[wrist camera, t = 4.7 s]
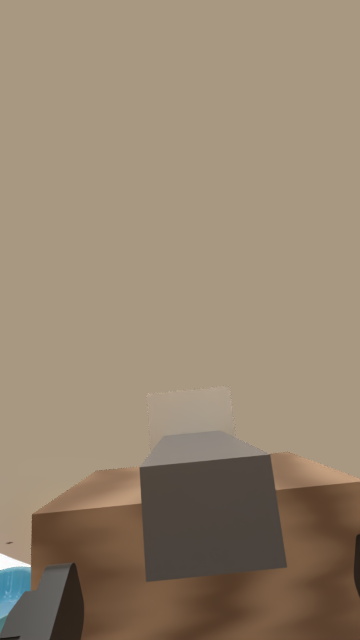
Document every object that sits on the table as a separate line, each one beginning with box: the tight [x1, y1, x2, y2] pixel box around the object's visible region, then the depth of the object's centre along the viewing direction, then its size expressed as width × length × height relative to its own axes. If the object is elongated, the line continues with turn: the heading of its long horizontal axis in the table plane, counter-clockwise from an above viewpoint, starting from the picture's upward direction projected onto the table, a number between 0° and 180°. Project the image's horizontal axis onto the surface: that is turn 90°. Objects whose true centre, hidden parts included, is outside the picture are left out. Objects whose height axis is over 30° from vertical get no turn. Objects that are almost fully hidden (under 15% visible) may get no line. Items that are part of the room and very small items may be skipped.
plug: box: [139, 386, 287, 582], centre depth 20 cm, size 6×19×6 cm, turn 0°
